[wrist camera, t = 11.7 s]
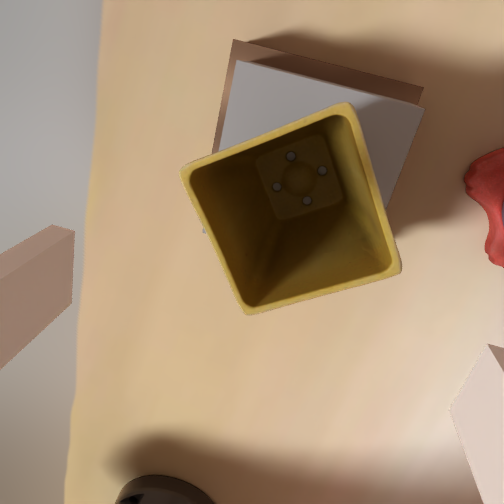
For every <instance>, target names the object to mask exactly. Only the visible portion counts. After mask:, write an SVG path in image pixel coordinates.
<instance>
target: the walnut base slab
mask: <svg viewBox="0 0 504 504" xmlns="http://www.w3.org/2000/svg"><path fill="white" fill-rule="evenodd" d="M236 60H242V61H251V62H255V63H258V64H262V65H266V66H270V67H274V68H278V69H282V70H285V71H289V72H293V73H297V74H301V75H305V76H309V77H312V78H316V79H320V80H324V81H328V82H332V83H336V84H339V85H343V86H347V87H351V88H355V89H359V90H363V91H366V92H370V93H374V94H378V95H382V96H386V97H390V98H393V99H397V100H401V101H405V102H409V103H412V104H414V105H417V104H418V101H419V99H420V96H421V93H422V91H423V88H424V87H420V86H416V85H412V84H408V83H404V82H400V81H396V80H392V79H388V78H384V77H380V76H377V75H373V74H369V73H365V72H361V71H357V70H353V69H349V68H345V67H341V66H337V65H333V64H329V63H326V62H322V61H318V60H314V59H310V58H306V57H302V56H298V55H294V54H290V53H286V52H282V51H279V50H275V49H271V48H267V47H263V46H259V45H255V44H251V43H247V42H243V41H239V40H235V39H233V43H232V48H231V53H230V59H229V64H228V69H227V75H226V80H225V85H224V90H223V96H222V101H221V106H220V112H219V117H218V122H217V128H216V133H215V138H214V144H213V149H212V154H213V153H216V152H219V147H220V141H221V136H222V131H223V126H224V121H225V116H226V111H227V106H228V101H229V96H230V91H231V86H232V81H233V75H234V70H235V65H236Z"/></svg>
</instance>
